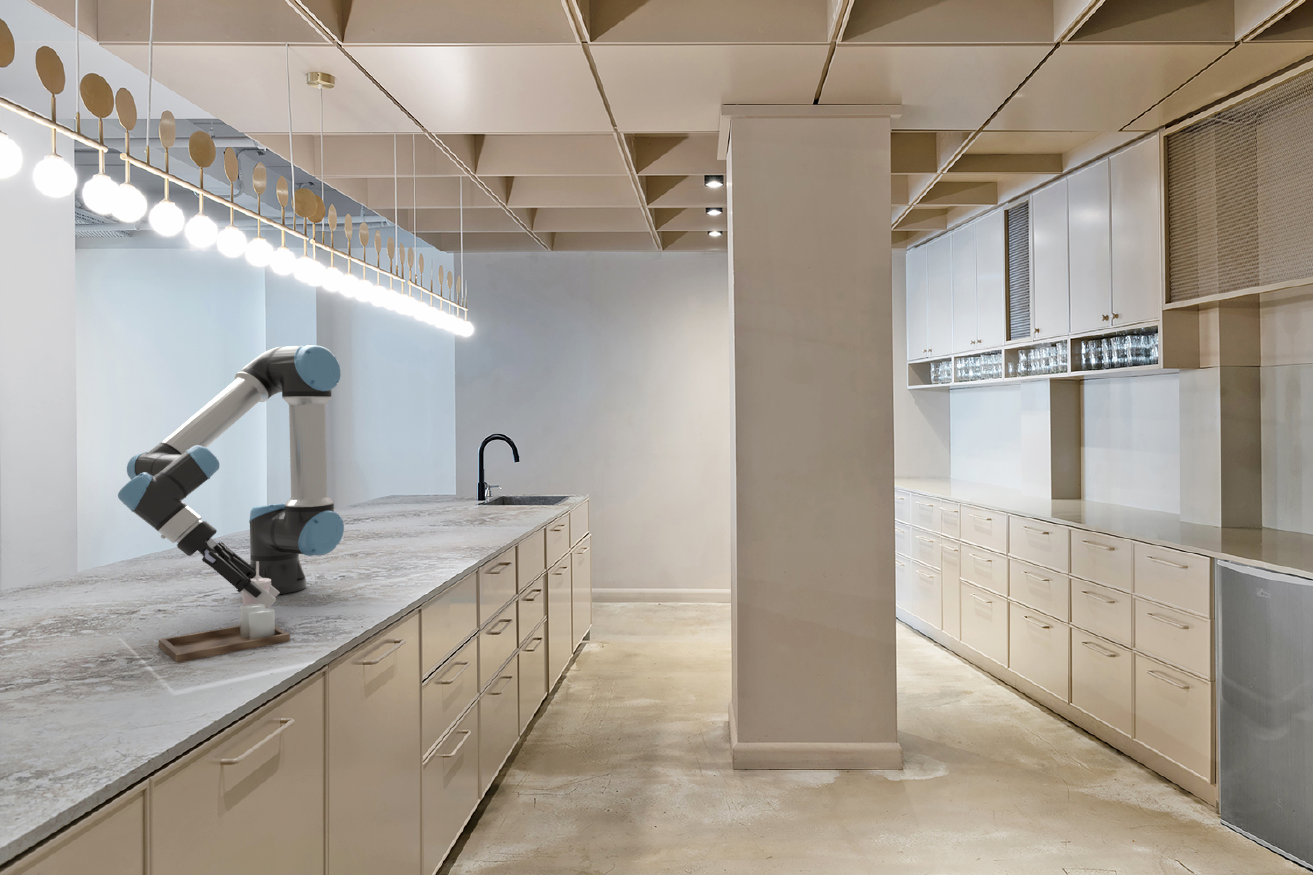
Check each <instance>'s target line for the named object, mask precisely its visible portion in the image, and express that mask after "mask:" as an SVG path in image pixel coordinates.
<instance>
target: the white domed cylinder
mask: <svg viewBox="0 0 1313 875" xmlns="http://www.w3.org/2000/svg"><path fill="white" fill-rule="evenodd" d="M275 610H276V609H274V608H271V607H269V608H263V609H256V610H252V611H250V612H249V640H253V639H258V638H263V637H269V636H274V635H275V626H276V622H275V620H276V619H275V618H276V617H275V616H276V614H275Z"/></svg>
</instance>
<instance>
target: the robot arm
mask: <svg viewBox="0 0 1313 875" xmlns="http://www.w3.org/2000/svg"><path fill="white" fill-rule="evenodd" d="M341 375H342V372H341V365H340V362H339V360H338V358H337V357H336V355H335V354H334V353H333V352H332V351H331V350H330V349H328V348H327V347H324V346H321V345H314V344H302V345H289V346H277V347H274V348H271V349H269V350H267V351H265V352H263V353H261V354H260V355H258V356H257V357H256V358H254V359H253V360H252V361H250V362H249V363H248V364H246V365H245V366H244V367H243V368H242V369H240V370H239V371H238V372H237V373H235V376H234V381H233V382H231V383H230V384H228V386H227V387H226V388H224V389H223V390H222V391H221V392H219V393H218V394H217V395H216V396H215V397H214V398H212V399H211V400H210V401H209V402H207V403H206V404H205V405H204V406H203V407H201V408H200V409H199V410H197V411H196V412H195V413H194V414H193V415H192V416H191V417H189V419H187V420H186V421H184V423H182V424H181V425H179V427H177V428H176V429H175V430H174V431H173V432H172V433H171V434H168V436H167V437H166V438H164V439H163V440H162V441H161V442H159V443H158V444H157V445H156V446H154V447H153V448H152V449H151V450H149V451H147V452H141V453H138V454H135V455H134V456H132V457H131V458H130V459H129V460H128V462H127V465H126V473H127V476H128V478H129V479H130V480H129V481H128V482H127V483H126V484H125V485H124V486H122V488H121V489H120V490H119V492H118V494H117V497H118V500H119V501H121V503H123V504H122V505H124V506H125V507H127V508H128V509H129V510H130V511H131V512H132V513H134V514H135V515H136V516H138V517H139V518H141V519H142V520H143V521H145V522H146V523H147V524H149V525H150V526H151V527H152V528H154V529H155V530H156V531H157V532H158V533H160V534H161V535H160V538H161V539H164V540H165V539H167V540H168V541H169V542H171V543H172V544H175V543H177V544H176V547H177V549H179V550H180V551H181V552H183V553H184V554H185V555H186V556H188V557H190V556H193V555H194V554H196V552H197V551H198V552H199V553H200V554H201V555H202V559H201V560H202V562H203V563H205V564H206V565H208V566H209V567H211V569H213V570H214V571H215V572H217V574H219V575H220V576H221V577H223V579H225V580H226V581H227V582H228V583H230V585H232V586H233V587H234V588H235V589H236V591H237V592H238V593H242V592H241V591H242V590H243V591H245V592H246V593H247V594H248V595H250V596H251V597H252V598H253V599H255V600H256V601H257V602H258V603H260V604H264V605H265V608H271V606H272V605H273V603H274V604H275V602H276V601H277V598H276V597H277V596H279V595H283V594H290V593H294V592H295V593H296V592H299V591H302V590H304V589H305V588H307V578H306V575H305V572H304V569H303V567H302V565H301V562H300V558H299V557H300V555H303V556H307V557H312V556H314V557H315V556H317V557H318V556H320V557H321V556H326V555H328V554H329V553H332V552H333V551H334V550H335V549H336V548H337V546H338V545H339V544H340V542H342V538H343V536H344V531H345V525H344V521H343V518H342V517H341V516H340V514H338V513H337V512H335V504H334V500H333V499H331V497H329V495H328V472H327V471H328V468H327V467H328V466H327V465H328V464H327V460H328V458H327V424H326V423H327V422H326V420H327V418H326V412H327V411H326V404H327V403H328V402H330V400H331V399H332V390H333V389H334V388H336V387H337V386H338V383H339V382H340V380H341V377H342V376H341ZM278 393H281V398H282V399H283V400H284V402H286V403H287V405H288V410H289V411H288V414H289V416H288V417H289V421H288V422H289V424H288V425H289V458H290V460H289V461H290V463H289V465H290V467H289V468H290V470H289V471H290V498H289V499H288V500H287V501H286V502H284V503H275V504H274V503H273V504H266V505H256V506H254V507H252V509H251V510H250V514H249V520H248V521H249V522H248V523H249V537H250V538H249V542H250V543H249V551H250V553H249V554H250V558H249V559H250V561H249V563H248V562H247V561H246V560H244V559H243V558H242V557H241V556H240V555H238V554H237V553H235V551H233V550H232V549H231V548H229V547H228V546H227V545H226V544H225V543H224V542H222V541H221V542H220V541H219V542H217V541H215V540H214V539H212V538H213V536H214V535H215V534H216V533H217V529H216V528H215V527H214V526H213V525H211V524H210V523H209V522H208V521H206V520H203V521H202V516H201V515H200V514H199V513H197V512H196V511H195V510H194V509H193V508H191V507H190V506H189V505H187V504H186V503H185V502H183V500H184V499H186V498H187V497H188V496H189V495H190V494H191V493H193V492H194V491H195V490H197V489H198V488H199V487H201V485H203V484H204V483H205V482H206V481H209V480H210V479H211V478H212V476H213V475H215V473H217V471H219V469H220V462H219V459H218V458H217V456H216V455H215V454H214V453H213V451H211V450H210V449H209V448H207V447H209V446H210V445H211V444H212V443H213V442H214V441H215V440H216V439H218V438H219V437H220V436H221V435H222V434H224V433H225V432H226V431H227V430H228V429H230V427H232V426H233V425H234V424H235V423H236V422H237V421H239V420H240V418H242V417H243V416H244V415H245V414H246V413H247V412H248V411H250V410H251V409H252V408H253V407H254V406H255V405H256V404H258V403H264V402H266V401H267V400H269V399H270V398H271V397H273V396H275V395H276V394H278ZM256 561H259V578H269V579H271V585H270V587H269V593H268V592H267V591H266V590H265V589H264V588H262V587H261V586H260V585H259V584H257V583H256V582H255V581H254V580H253V581H251V579H253V578H256Z"/></svg>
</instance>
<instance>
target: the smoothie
mask: <svg viewBox="0 0 1313 875" xmlns="http://www.w3.org/2000/svg"><path fill="white" fill-rule="evenodd" d="M253 580H254V581H255V582H256V583H257V584H259V585H260V586H261V587H262V588H264V589H265V590H266V591H267V592H268V593H269V587H270V585H271V579H269V578H259V561H256V578H253V579H251V581H253ZM240 593H241V598H242V606H243V605H247V604H260V603H258V602H257V601H256V600H255V599H253V598H252V597H251V596H250V595H248V594H247V593H246V592H245V591H243V590H242V591H241V592H240Z"/></svg>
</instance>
